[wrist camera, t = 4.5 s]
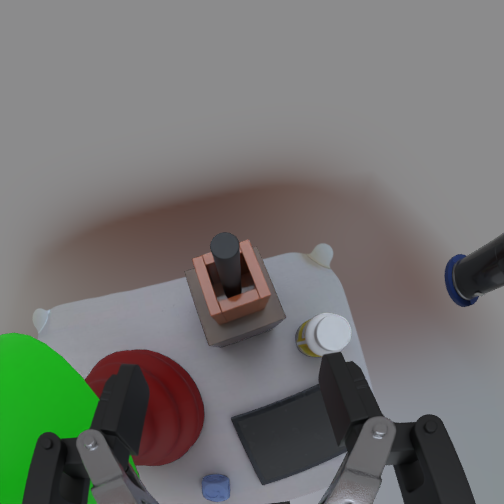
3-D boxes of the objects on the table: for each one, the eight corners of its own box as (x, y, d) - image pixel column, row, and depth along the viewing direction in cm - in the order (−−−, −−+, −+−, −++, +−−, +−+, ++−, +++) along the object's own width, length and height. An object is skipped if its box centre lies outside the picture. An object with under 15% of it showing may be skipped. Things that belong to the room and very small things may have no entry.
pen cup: (247, 264, 32) (248, 238, 25) (265, 308, 30) (271, 294, 23) (203, 280, 31) (191, 258, 24) (218, 325, 29) (210, 316, 22)
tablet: (335, 375, 40) (337, 376, 39) (360, 441, 35) (362, 443, 34) (231, 417, 37) (230, 418, 36) (262, 483, 33) (262, 485, 32)
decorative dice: (230, 491, 32) (229, 502, 28) (206, 491, 32) (203, 501, 28) (228, 474, 33) (226, 483, 30) (204, 473, 33) (200, 483, 29)
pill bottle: (336, 349, 42) (362, 347, 31) (301, 361, 41) (319, 364, 30) (325, 314, 44) (348, 302, 33) (290, 325, 43) (304, 317, 33)
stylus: (238, 283, 30) (233, 228, 17) (244, 298, 30) (243, 253, 17) (223, 288, 30) (206, 237, 17) (228, 303, 29) (215, 263, 16)
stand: (253, 277, 46) (257, 246, 32) (273, 328, 43) (286, 317, 30) (202, 295, 44) (184, 271, 31) (220, 347, 41) (208, 345, 28)
